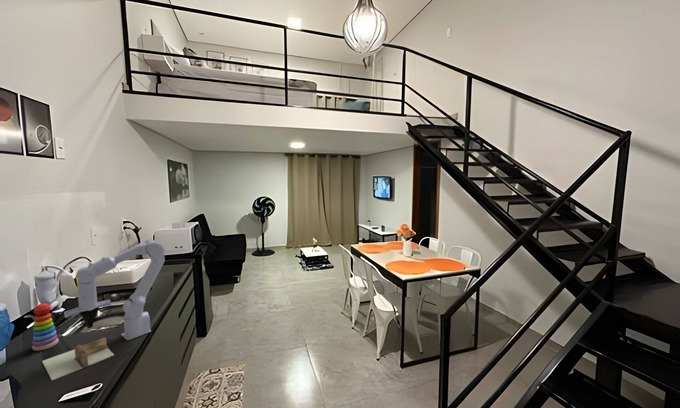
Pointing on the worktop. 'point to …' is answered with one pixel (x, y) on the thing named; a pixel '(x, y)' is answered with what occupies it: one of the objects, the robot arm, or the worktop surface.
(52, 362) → the card
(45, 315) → the stacking toy
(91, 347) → the fence
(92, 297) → the robot arm
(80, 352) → the fence panel
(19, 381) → the worktop surface
